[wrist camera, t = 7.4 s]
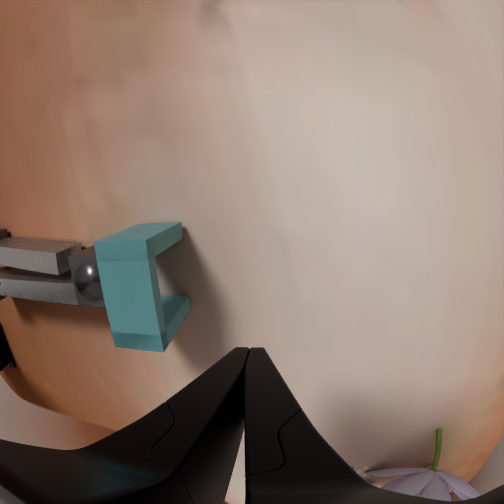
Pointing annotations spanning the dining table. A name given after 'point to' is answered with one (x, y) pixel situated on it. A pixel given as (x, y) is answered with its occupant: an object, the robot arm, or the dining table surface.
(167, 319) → the teal notched block
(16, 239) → the tong arm
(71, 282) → the tong frame
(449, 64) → the dining table surface
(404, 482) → the purple flower
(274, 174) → the dining table surface
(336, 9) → the dining table surface
